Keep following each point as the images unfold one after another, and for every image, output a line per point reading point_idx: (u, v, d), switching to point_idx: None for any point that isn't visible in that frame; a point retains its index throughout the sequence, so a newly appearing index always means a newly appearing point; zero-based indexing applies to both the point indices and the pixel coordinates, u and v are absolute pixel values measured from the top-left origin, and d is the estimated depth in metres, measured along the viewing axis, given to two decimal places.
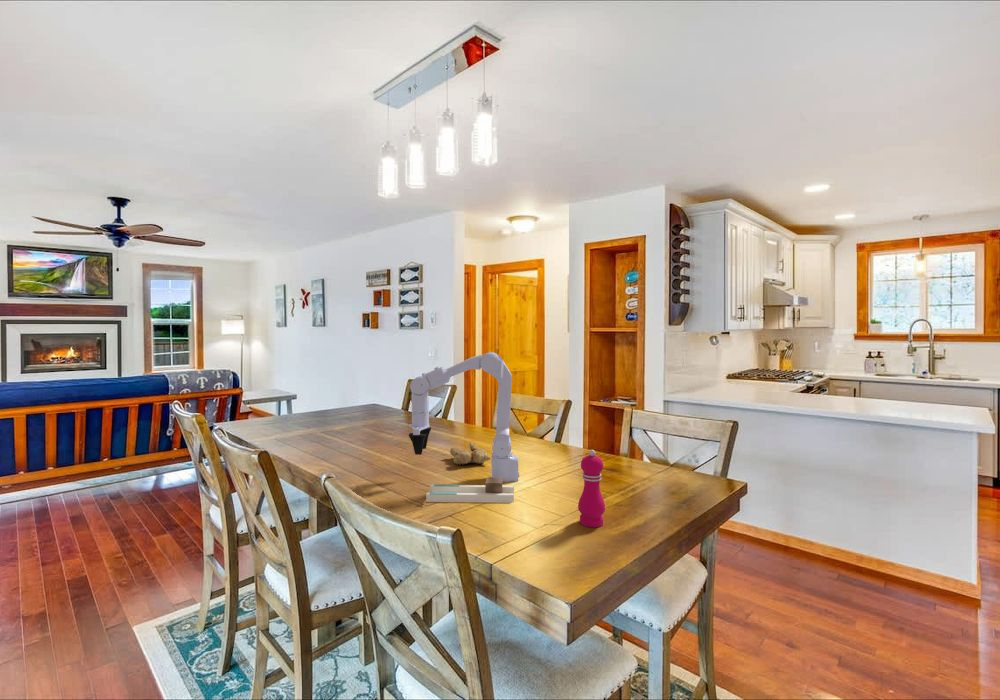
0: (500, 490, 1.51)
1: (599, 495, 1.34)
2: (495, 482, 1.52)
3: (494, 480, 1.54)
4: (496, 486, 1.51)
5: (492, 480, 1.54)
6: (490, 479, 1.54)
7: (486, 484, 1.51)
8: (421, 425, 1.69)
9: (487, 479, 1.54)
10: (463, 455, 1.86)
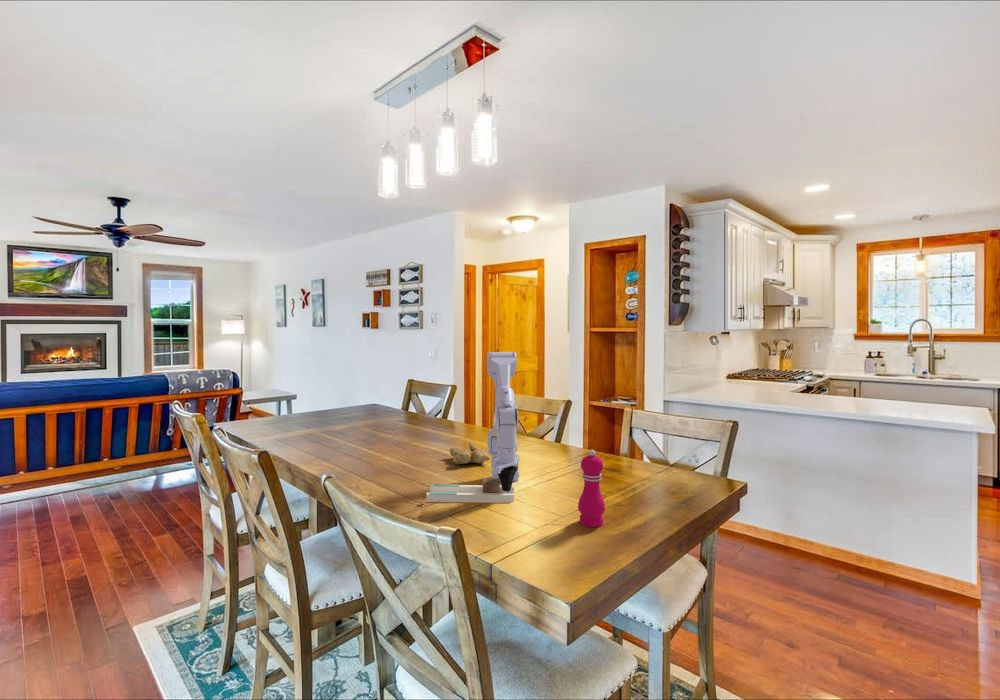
0: (497, 490, 1.51)
1: (599, 495, 1.34)
2: (492, 482, 1.52)
3: (491, 480, 1.54)
4: (493, 486, 1.51)
5: (489, 480, 1.54)
6: (487, 479, 1.54)
7: (483, 484, 1.51)
8: (505, 462, 1.50)
9: (484, 479, 1.54)
10: (463, 455, 1.86)
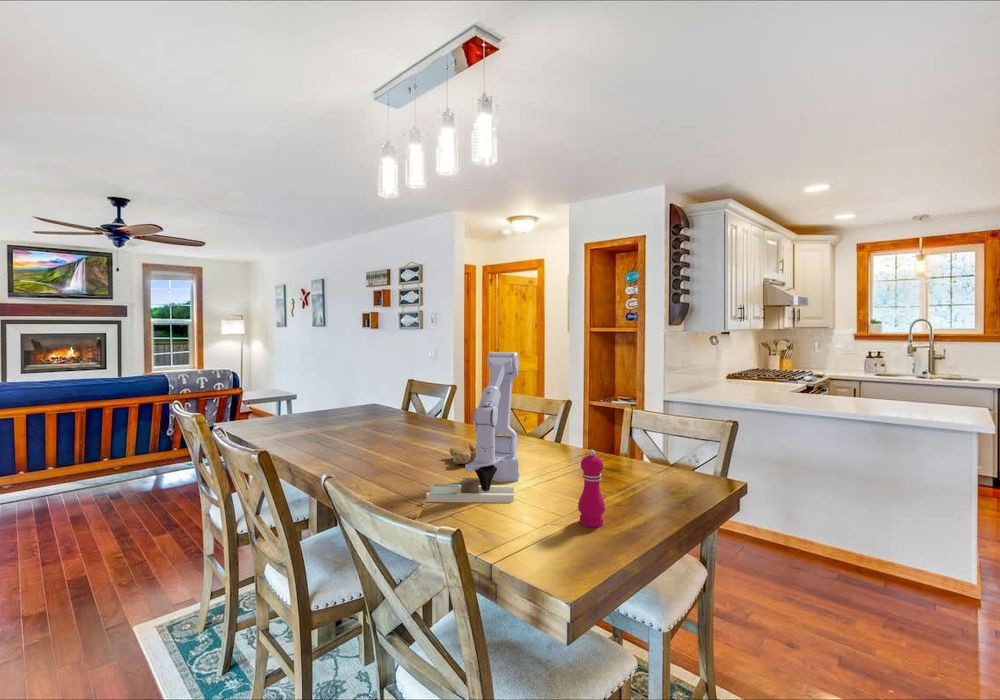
0: (476, 490, 1.51)
1: (599, 495, 1.34)
2: (471, 482, 1.52)
3: (470, 480, 1.54)
4: (472, 486, 1.51)
5: (468, 479, 1.54)
6: (466, 479, 1.55)
7: (462, 484, 1.51)
8: (480, 461, 1.51)
9: (463, 479, 1.55)
10: (463, 455, 1.87)
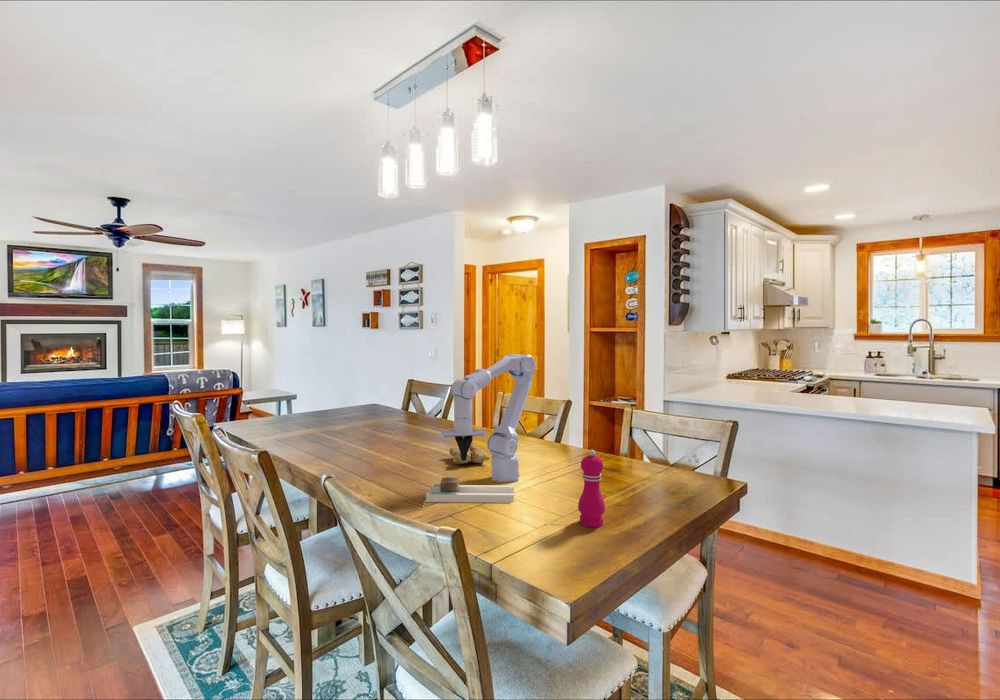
0: (455, 490, 1.51)
1: (599, 495, 1.34)
2: (450, 482, 1.52)
3: (450, 480, 1.54)
4: (451, 486, 1.51)
5: (448, 479, 1.54)
6: (446, 479, 1.55)
7: (441, 484, 1.51)
8: (455, 431, 1.59)
9: (443, 479, 1.55)
10: None
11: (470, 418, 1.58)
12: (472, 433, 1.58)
